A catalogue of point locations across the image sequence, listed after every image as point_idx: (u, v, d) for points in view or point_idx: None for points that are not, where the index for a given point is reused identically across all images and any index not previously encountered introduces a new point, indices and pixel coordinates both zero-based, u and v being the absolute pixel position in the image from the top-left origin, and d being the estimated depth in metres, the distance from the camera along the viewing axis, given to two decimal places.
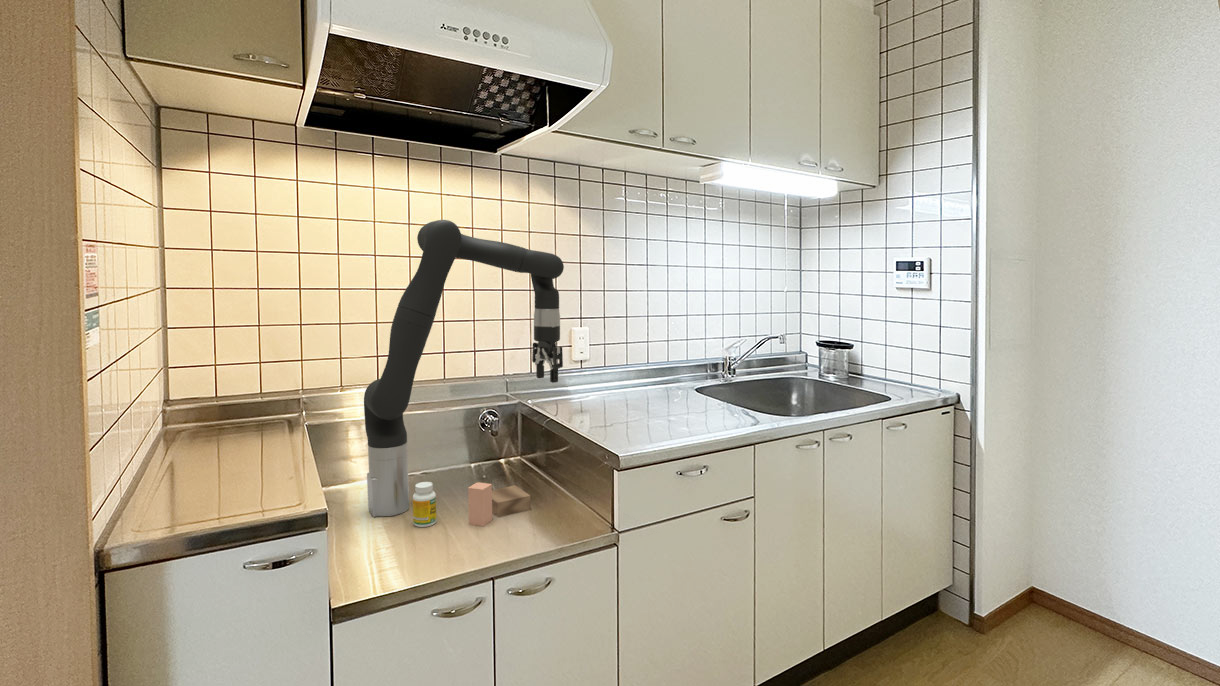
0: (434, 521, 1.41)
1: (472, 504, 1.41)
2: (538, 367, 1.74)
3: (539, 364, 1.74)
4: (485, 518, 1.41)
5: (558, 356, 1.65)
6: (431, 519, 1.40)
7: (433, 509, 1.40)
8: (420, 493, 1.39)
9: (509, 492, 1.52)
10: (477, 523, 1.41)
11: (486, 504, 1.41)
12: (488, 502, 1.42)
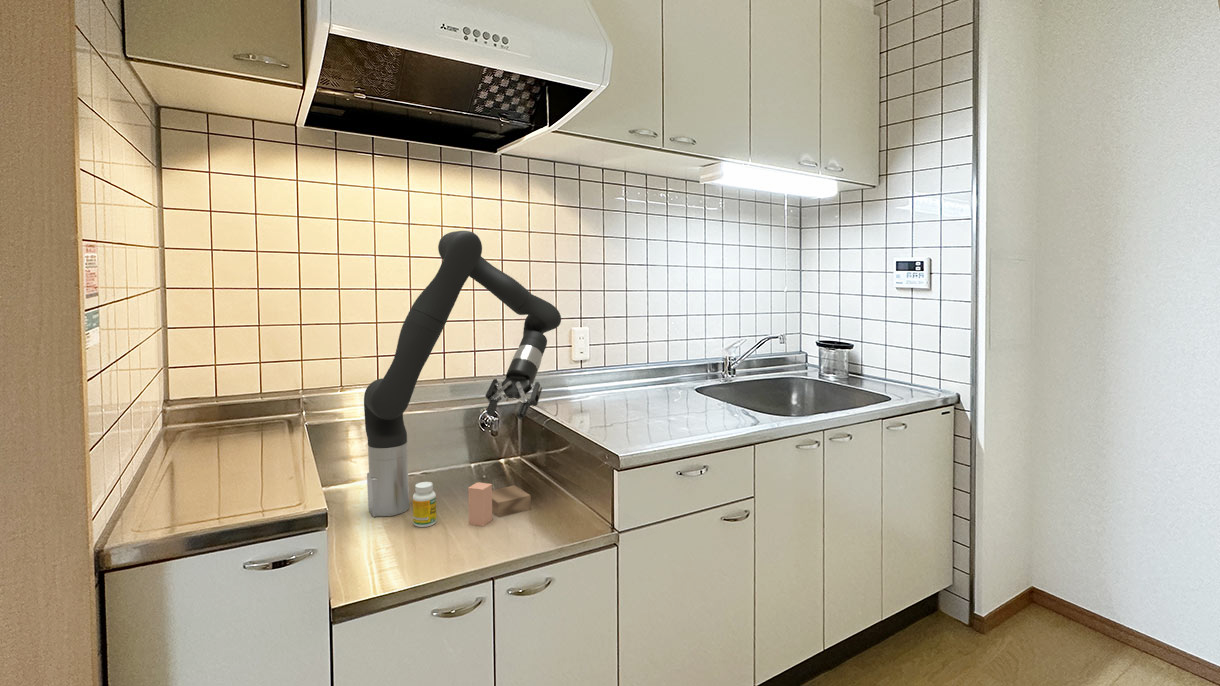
0: (434, 521, 1.41)
1: (472, 504, 1.41)
2: (494, 402, 1.54)
3: (495, 400, 1.54)
4: (485, 518, 1.41)
5: (538, 393, 1.53)
6: (431, 519, 1.40)
7: (433, 509, 1.40)
8: (420, 493, 1.39)
9: (509, 492, 1.52)
10: (477, 523, 1.41)
11: (486, 504, 1.41)
12: (488, 502, 1.42)
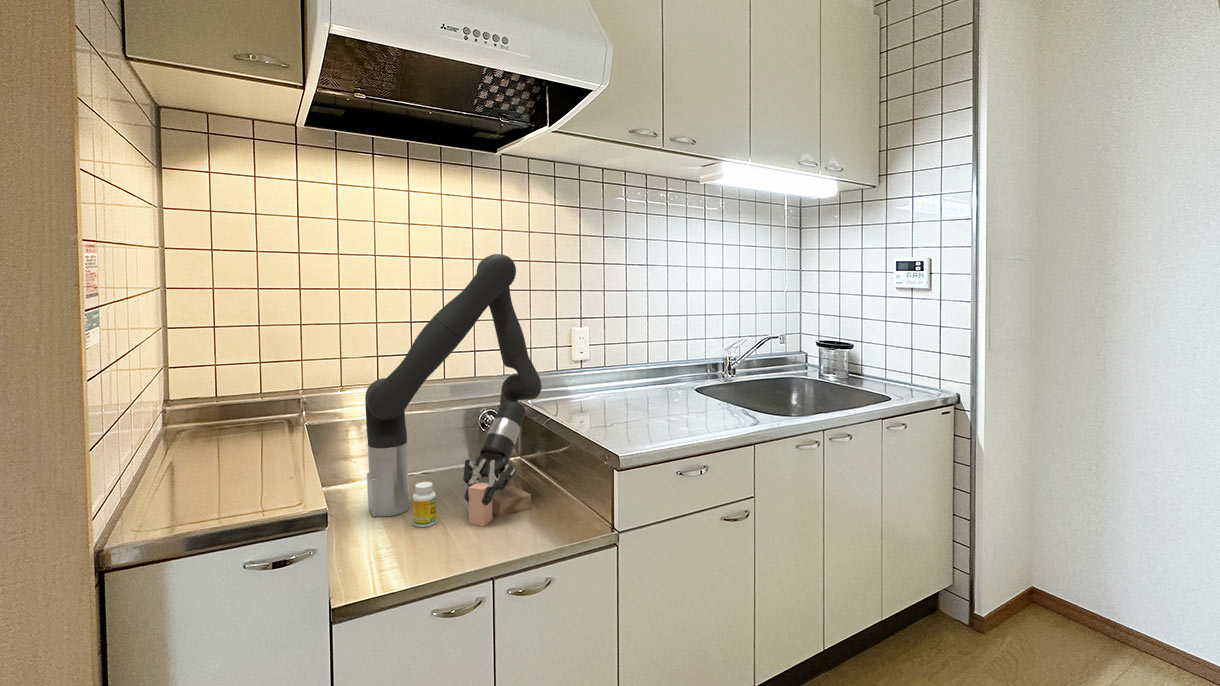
0: (434, 521, 1.41)
1: (472, 503, 1.41)
2: None
3: None
4: (485, 518, 1.41)
5: (508, 477, 1.43)
6: (431, 519, 1.40)
7: (433, 509, 1.40)
8: (420, 493, 1.39)
9: (509, 492, 1.52)
10: (477, 523, 1.41)
11: None
12: None
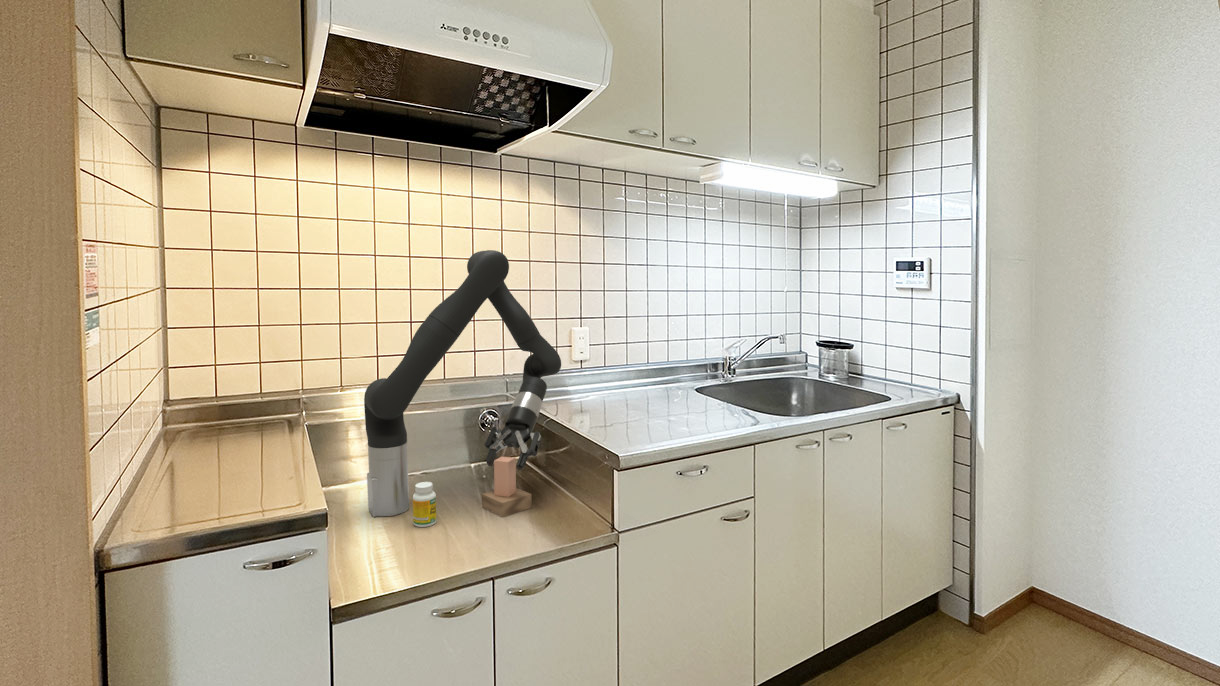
0: (434, 521, 1.41)
1: (497, 476, 1.50)
2: (493, 452, 1.52)
3: (494, 450, 1.53)
4: (509, 490, 1.50)
5: (537, 442, 1.52)
6: (431, 519, 1.40)
7: (433, 509, 1.40)
8: (420, 493, 1.39)
9: None
10: (502, 494, 1.50)
11: (510, 476, 1.50)
12: (512, 474, 1.51)
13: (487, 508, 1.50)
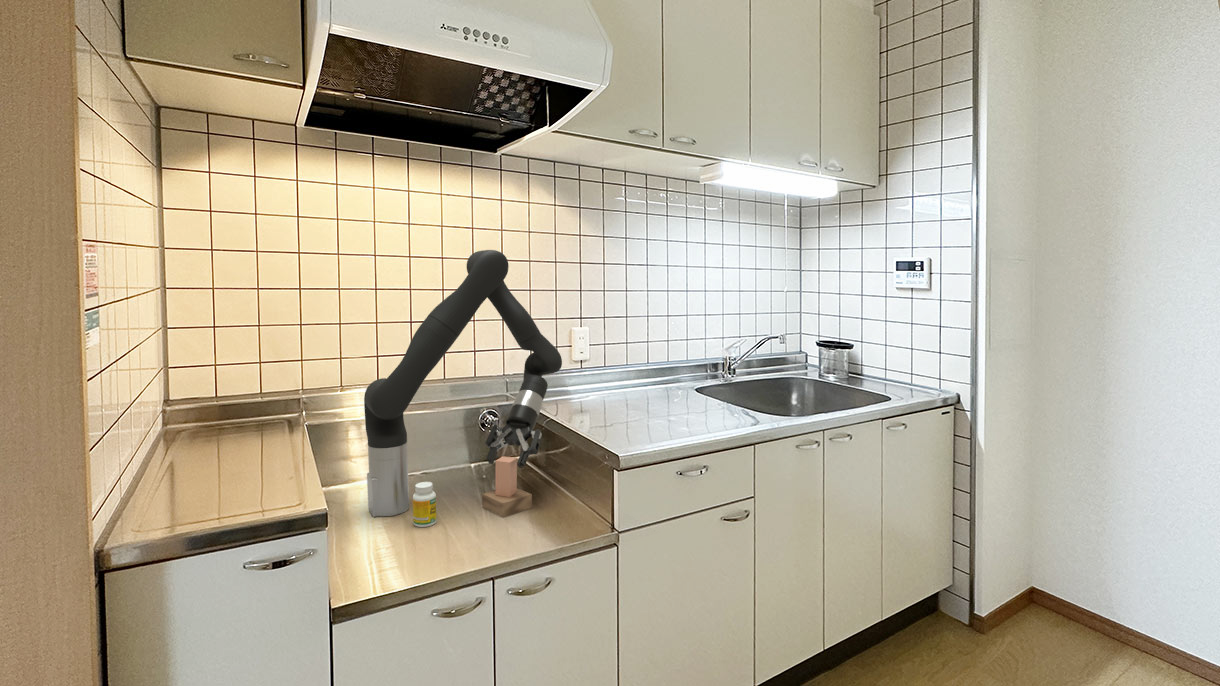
0: (434, 521, 1.41)
1: (498, 476, 1.50)
2: (494, 450, 1.52)
3: (495, 448, 1.53)
4: (510, 490, 1.50)
5: (538, 440, 1.52)
6: (431, 519, 1.40)
7: (433, 509, 1.40)
8: (420, 493, 1.39)
9: None
10: (503, 494, 1.50)
11: (511, 476, 1.50)
12: (513, 475, 1.51)
13: (487, 508, 1.50)
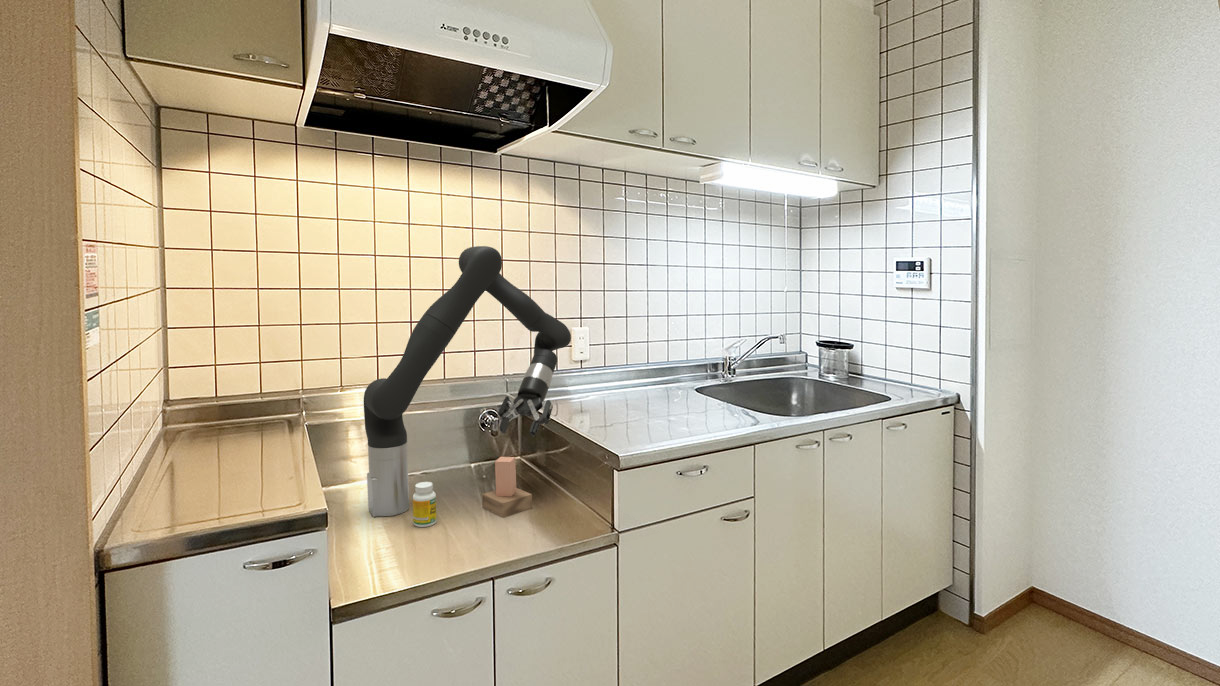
0: (434, 521, 1.41)
1: (499, 476, 1.49)
2: (506, 420, 1.58)
3: (507, 418, 1.59)
4: (512, 489, 1.50)
5: (549, 410, 1.57)
6: (431, 519, 1.40)
7: (433, 509, 1.40)
8: (420, 493, 1.39)
9: None
10: (504, 494, 1.50)
11: (512, 476, 1.50)
12: (513, 474, 1.51)
13: (487, 508, 1.50)
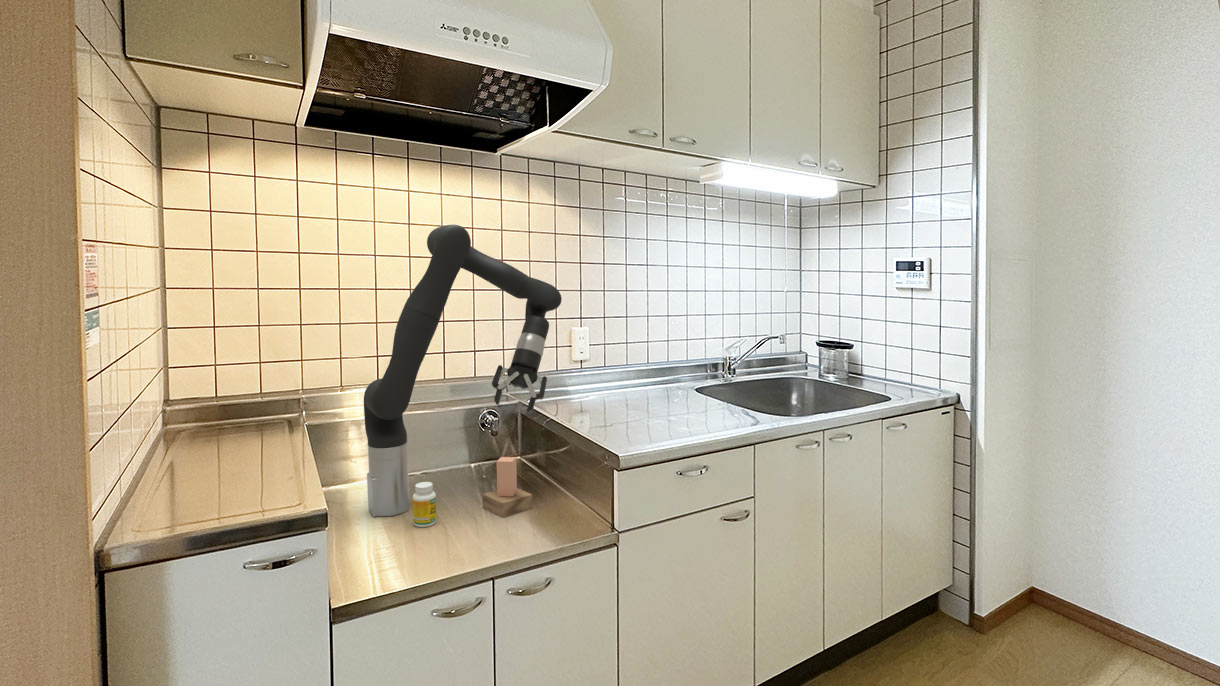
0: (434, 521, 1.41)
1: (500, 476, 1.49)
2: (501, 392, 1.58)
3: (501, 389, 1.59)
4: (513, 489, 1.50)
5: (545, 387, 1.61)
6: (431, 519, 1.40)
7: (433, 509, 1.40)
8: (420, 493, 1.39)
9: None
10: (506, 494, 1.49)
11: (513, 476, 1.50)
12: (514, 474, 1.51)
13: (488, 508, 1.50)
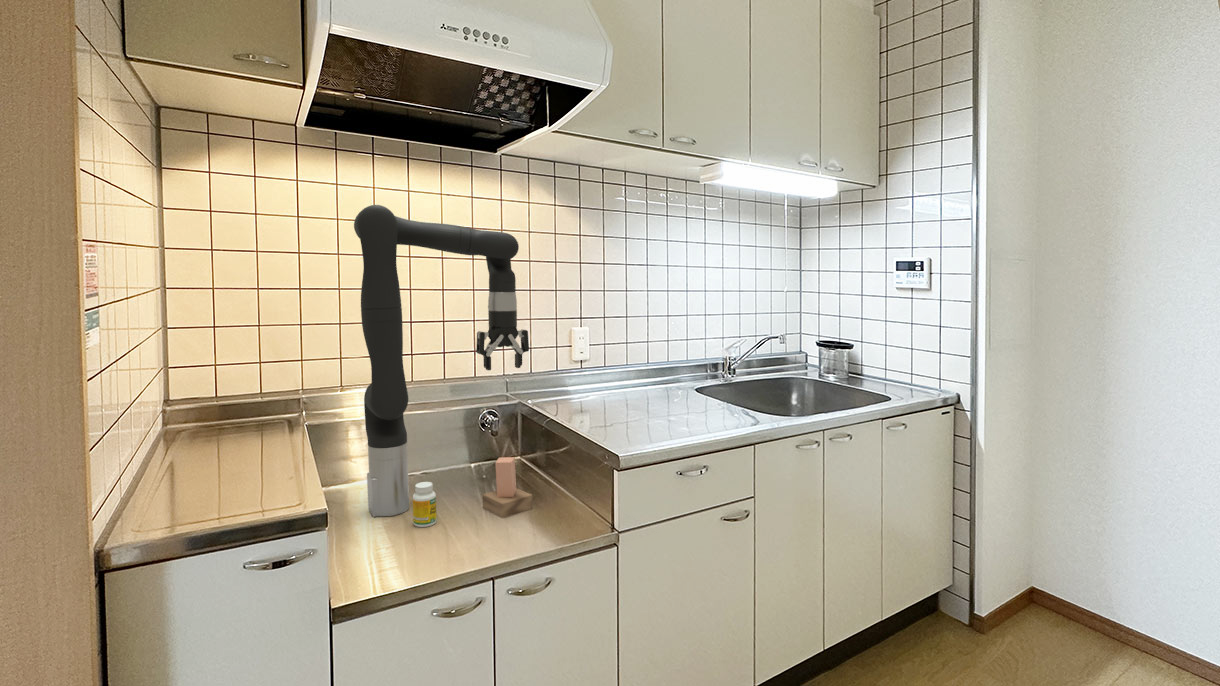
0: (434, 521, 1.41)
1: (500, 477, 1.49)
2: None
3: None
4: (513, 489, 1.50)
5: None
6: (431, 519, 1.40)
7: (433, 509, 1.40)
8: (420, 493, 1.39)
9: None
10: (506, 495, 1.49)
11: (513, 476, 1.50)
12: (514, 474, 1.51)
13: (488, 509, 1.50)
